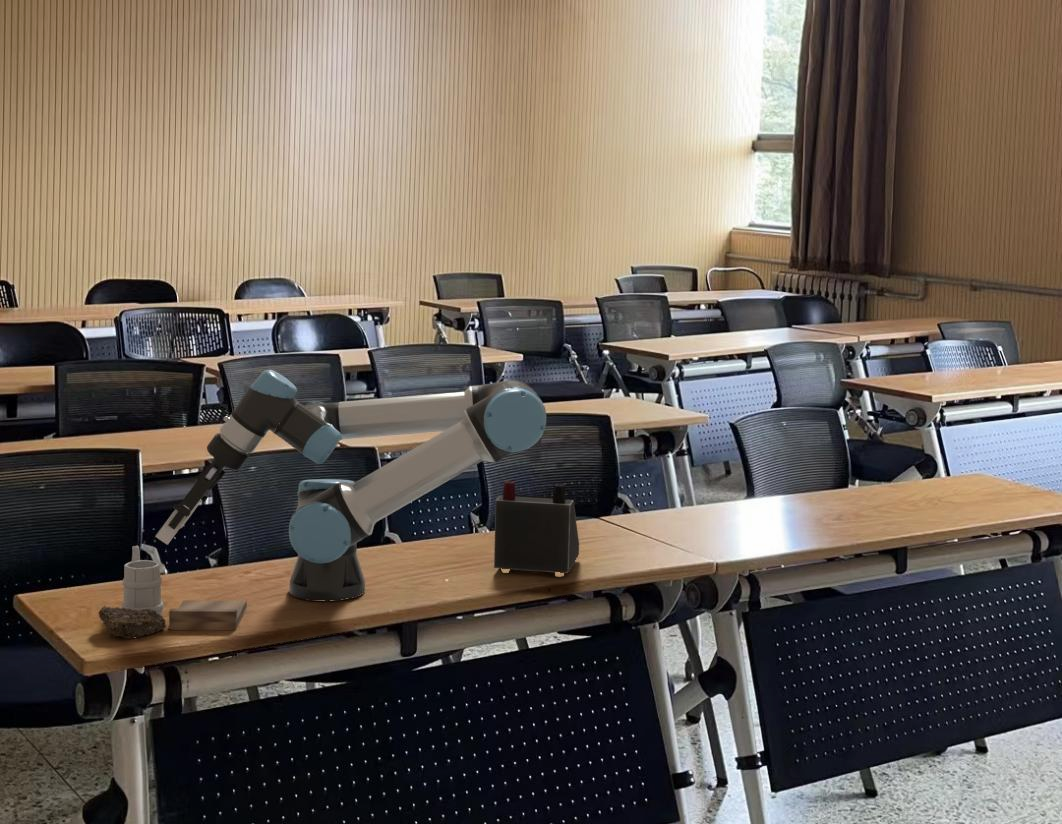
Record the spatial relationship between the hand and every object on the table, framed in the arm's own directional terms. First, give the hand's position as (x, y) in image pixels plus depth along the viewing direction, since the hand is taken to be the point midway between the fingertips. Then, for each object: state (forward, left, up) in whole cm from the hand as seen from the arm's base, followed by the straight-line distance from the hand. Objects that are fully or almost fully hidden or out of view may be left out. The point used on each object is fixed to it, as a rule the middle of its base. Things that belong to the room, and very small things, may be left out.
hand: (168, 532), depth 261 cm
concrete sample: (+4, +14, -16) cm, 22 cm away
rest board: (-8, +6, -15) cm, 18 cm away
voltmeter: (-73, -34, -16) cm, 82 cm away
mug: (+5, +2, -15) cm, 16 cm away
